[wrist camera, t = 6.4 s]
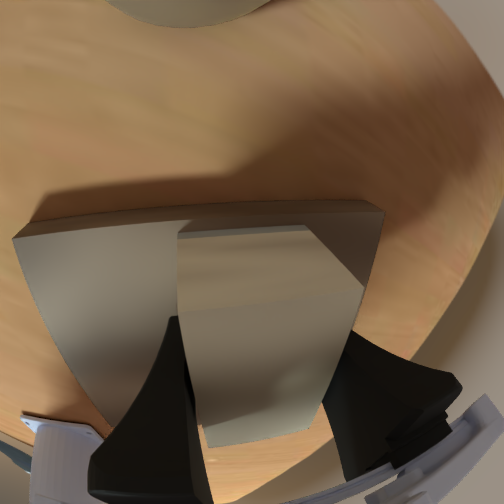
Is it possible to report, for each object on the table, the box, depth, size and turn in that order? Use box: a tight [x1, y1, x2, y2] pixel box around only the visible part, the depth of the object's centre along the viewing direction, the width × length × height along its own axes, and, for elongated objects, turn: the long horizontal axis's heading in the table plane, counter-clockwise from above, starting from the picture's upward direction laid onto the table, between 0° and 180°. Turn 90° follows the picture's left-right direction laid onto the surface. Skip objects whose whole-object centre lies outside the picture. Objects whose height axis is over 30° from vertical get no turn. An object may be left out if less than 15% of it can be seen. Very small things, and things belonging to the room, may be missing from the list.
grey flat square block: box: [12, 200, 385, 427], centre depth 13 cm, size 14×15×2 cm
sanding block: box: [177, 225, 364, 448], centre depth 10 cm, size 8×4×4 cm, turn 178°
